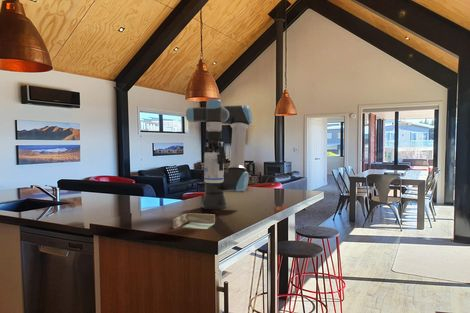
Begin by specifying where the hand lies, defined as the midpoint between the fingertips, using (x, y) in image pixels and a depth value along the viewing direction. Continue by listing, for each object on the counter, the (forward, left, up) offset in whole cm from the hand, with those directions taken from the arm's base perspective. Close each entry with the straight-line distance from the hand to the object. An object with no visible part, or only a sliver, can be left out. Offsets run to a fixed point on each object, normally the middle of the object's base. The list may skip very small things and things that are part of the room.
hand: (213, 176), depth 163 cm
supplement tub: (0, 0, -3) cm, 3 cm away
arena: (+9, -6, -22) cm, 25 cm away
